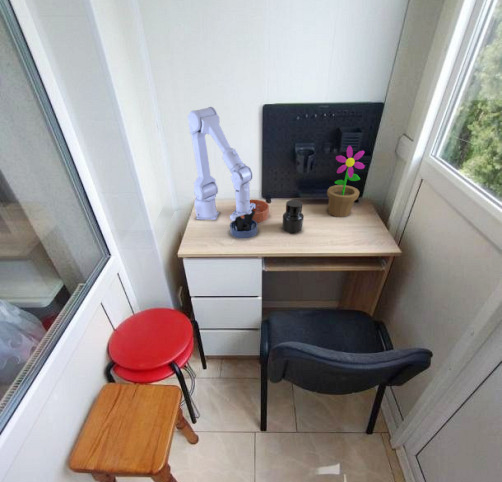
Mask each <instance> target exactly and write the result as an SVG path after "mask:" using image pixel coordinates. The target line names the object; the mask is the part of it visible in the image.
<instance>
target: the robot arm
mask: <svg viewBox="0 0 502 482" xmlns="http://www.w3.org/2000/svg"><path fill="white" fill-rule="evenodd" d="M187 122H188V127H189V133H190V135H191V142H192V149H193V154H194V159H195V165H196V171H197V178H196V179H195V181H194V182H193V185H194V186H193V187H194V188H193V193H194V196H195V198H194V210H195V215H196V218H195V219H196V220H201V221H202V220H211V221H212V220H213V221H216V220H217V218H218V216H219V214H220V211H217V204H216V198H217V194H218V193H219V188H218V185H217V182H216V181H217V180H216V178H215V177H213V176H212V175H211V169H210V162H209V155H208V147H207V141H206V140H207V139H206V135H210V136H211V138H212V139H213V141H214V142H215V144H216V145H217V146H218V148H219V149H220V151H221V152H222V160H223V162H224V163H225V165H226V167H227V169H228V170H229V172H230V173H231V176H230V179H231V182H232V184H233V189H234V194H235V210H234V211H233V212H232V213H231V214H230V215H229V220H230V221H231V222H232V221H233V222H234V223H235V225H236V228H237V231H243V222H244V219H245V223H248V224H249V225H251V221H252V218H253V216H254V214H255V211H253V210H252V209H255V204H254V203H250V200H251V197H250V195H251V193H250V191H251V190H250V182H251V181H252V179H253V171H252V169H251V167H250V166H248V165H247V164H246V163H244V162H243V161H242V158H241V157H240V155H239V154H238V153H239V152H238V151H237V150H236V148H233V147H231V146H230V144H229V141H228V139H227V137H226V135H225V134H224V133H225V132H224V131H223V129H222V127H221V124H220V116H219V115H218V113H217V110H216V109H215V108H214V107H213V106H208V107H205V108H200V109H196V110H195V109H193V110H191V111H190V112H189V114H188V115H187ZM242 215H244V219H242V218H241V216H242Z"/></svg>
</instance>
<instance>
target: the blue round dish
mask: <svg viewBox="0 0 502 482" xmlns="http://www.w3.org/2000/svg"><path fill="white" fill-rule="evenodd" d="M242 219H244V218H242ZM243 223H245V219H244V222H243ZM258 225H259V224H258V223H257V222H256V221H255V220H252V221H251V225H250V231H237V228H236V225H235V223H234V222H233V221H232V220H231V222H230V224H229V232H230V235H231V236H232V237H233V238H238V239H250V238H254V237H255V236H257V234H258V231H259V227H258Z"/></svg>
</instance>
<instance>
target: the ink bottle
mask: <svg viewBox="0 0 502 482" xmlns="http://www.w3.org/2000/svg"><path fill="white" fill-rule="evenodd" d="M303 206H304V205H303V202H302V201H301V200H298V199H289V200H286V203H285V212H284V213H283V214H282V223H281V224H282V225H281V228H282V229H281V230H283V232H285V233H288V234H299V233H300V232H302V230H303V225H304V217H305V216H304V214H303V213H302V212H303Z"/></svg>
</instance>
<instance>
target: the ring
mask: <svg viewBox="0 0 502 482" xmlns="http://www.w3.org/2000/svg"><path fill="white" fill-rule="evenodd" d="M243 231H250V225H249V224H248V223H243Z"/></svg>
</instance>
